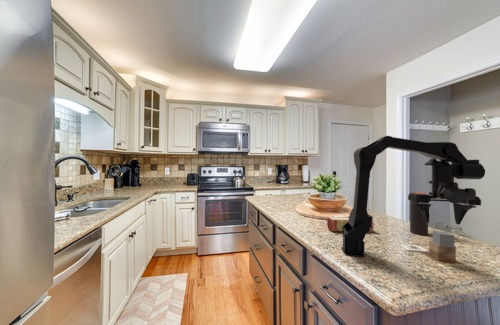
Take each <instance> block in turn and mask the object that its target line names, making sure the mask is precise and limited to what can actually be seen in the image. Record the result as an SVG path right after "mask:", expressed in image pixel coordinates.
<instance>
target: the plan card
mask: <svg viewBox="0 0 500 325" xmlns="http://www.w3.org/2000/svg"><path fill="white" fill-rule="evenodd" d="M399 246H400V247H401V248H403V249H404V250H405V251H407V252H415V253H419V251H421V252H425V253H429V250H426V249H425V248H424V247H422V246H420V245H413V244H412V245H410V244H402V243H401V244H399Z"/></svg>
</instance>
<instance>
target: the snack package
mask: <svg viewBox="0 0 500 325" xmlns="http://www.w3.org/2000/svg"><path fill="white" fill-rule="evenodd" d="M348 219H349V217H335V216H334V217H333V216H328V217H327V219H326V220H327V222H326V225H327V229H328V230H329V231H330V232H332V233H333V232H334V233H335V232H343V230H342V226H343V225H344V224H346V223H347V222H348ZM374 226H375V225H374V221H373V220H372V228H371V227H370V231H369V233H373V232H374V228H375V227H374ZM343 233H344V232H343Z"/></svg>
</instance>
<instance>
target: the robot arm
mask: <svg viewBox="0 0 500 325" xmlns="http://www.w3.org/2000/svg"><path fill="white" fill-rule="evenodd" d="M387 149H393V150H398V151H404V152H410V153H417V154H420V155H423V156H425V157H427V158H430V159H429V160H428V161H427V162H426V163H424V166H431V180H429V181H428V184H431V191H429V193H428V194H427V193H426V194H423V193H413V192H410V193H409V194H408V196H407V200H408V201H410V202H411V201H412V202H413V203H415V204H416V205H417V207H418V208H419V210H420V212H421V214H422V216H423V218H424V220H425V222H427V223H428V224H429V223H430V208H431V206H432V203H430V202H447V203H448V202H449V203H451V204H452V205H453V215H454V221H455V224H456V225H458V226H459V225H461V223H462V221H463V219H464V217H465V215H466V214H467V213H468V212H469V211H470V210H471V209H475V208H477V206H482V199H481V198H480V197H479V196H478V195H477V192H476V191H477V190H476V189H475V188H471V187H469V188H468V187H465V188H460V187H459V184H458V182H455V179H456V180H481V179H483V178H484V177H485V174H486V169H485V167H484V166H483V164H481V163H480V159H467V158H466V156H464V154H463V153H462V152H461V151H460V149H459V147H458V146H457V143H454V142H451V141H438V142H437V141H435V142H432V141H431V142H427V141H426V142H425V141H420V140H415V139H413V140H412V139H407V138H401V137H396V136H395V137H394V136H391V135H384V136H381V137H380V138H378V139H377V140H375V141H374V142H372V143H370V144H368V145H366V146H363V147H359V148H357V149H356V150H355V151H354V152H353V161H354V162H353V163H354V166H355V170H356V172H355V183H354V184H355V185H354V196H353V197H354V198H353V206H352V210H351V211H350V213H349V216H348V218H349V219H348V222H347V223H346V224H344V225H343V226H342V230H343V233H342V246H341V248H340V249H341V250H342V251H343V254H344V255H345V256H353V257H366V256H365V245H366V244H365V241H364V240H365V237H366V235H367V234H370V232H369V231H370V227H371V228H372V221H373V219H374V218H373V217H374V216H372V215H371V214H369V213H368V203H369V202H368V200H369V189H370V188H369V187H370V176H371V171H372V169H373V167H374V165H375V162H376V158H377V156H378V155H379V154H382V153H383V152H384V151H386V150H387Z"/></svg>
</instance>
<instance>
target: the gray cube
mask: <svg viewBox="0 0 500 325" xmlns="http://www.w3.org/2000/svg"><path fill="white" fill-rule="evenodd" d="M432 241H433V242H434V243H435V244H437V245H439V246H444V247H455V235H454V234H452V233H450V232H447V231H443V230H442V231H441V230H432Z"/></svg>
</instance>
